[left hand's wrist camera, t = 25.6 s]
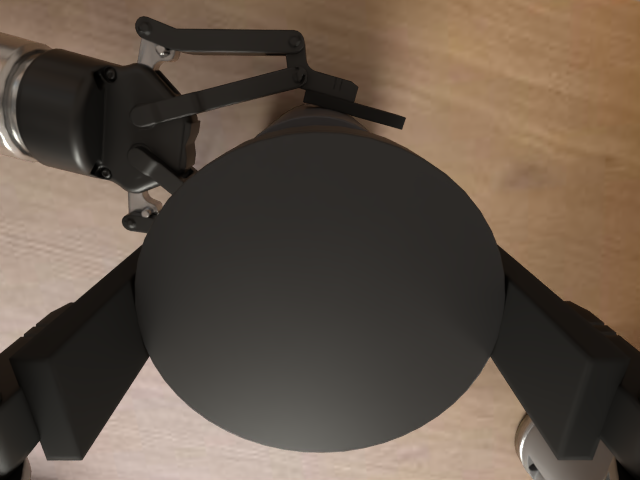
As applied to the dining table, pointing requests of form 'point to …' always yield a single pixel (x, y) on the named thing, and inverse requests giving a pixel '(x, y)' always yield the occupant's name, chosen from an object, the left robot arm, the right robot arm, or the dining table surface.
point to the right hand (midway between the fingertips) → (376, 192)
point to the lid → (319, 290)
